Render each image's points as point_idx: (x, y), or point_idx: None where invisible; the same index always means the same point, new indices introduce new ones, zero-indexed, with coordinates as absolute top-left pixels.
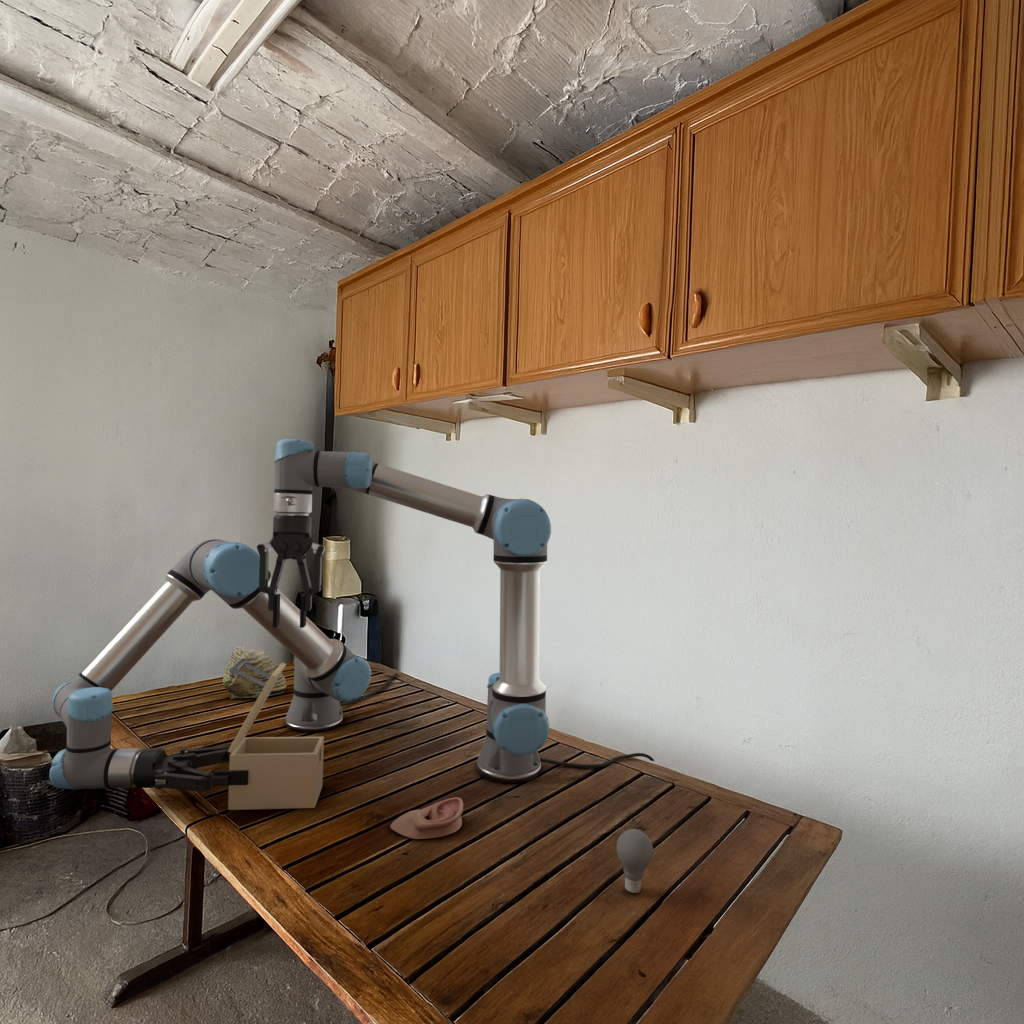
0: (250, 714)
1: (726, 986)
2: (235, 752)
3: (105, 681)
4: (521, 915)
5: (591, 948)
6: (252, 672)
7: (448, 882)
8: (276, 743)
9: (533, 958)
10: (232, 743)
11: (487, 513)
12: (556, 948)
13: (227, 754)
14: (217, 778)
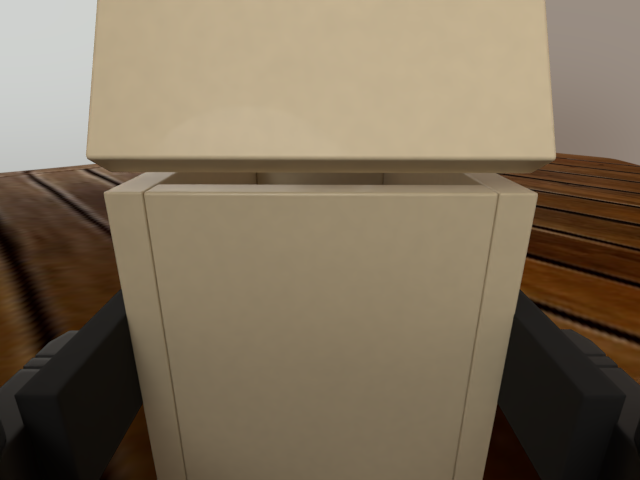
0: None
1: (582, 156)
2: (465, 185)
3: None
4: (578, 180)
5: (591, 170)
6: None
7: (558, 198)
8: (219, 176)
9: (635, 180)
10: (547, 76)
11: None
12: (609, 175)
13: (7, 459)
14: (633, 384)
